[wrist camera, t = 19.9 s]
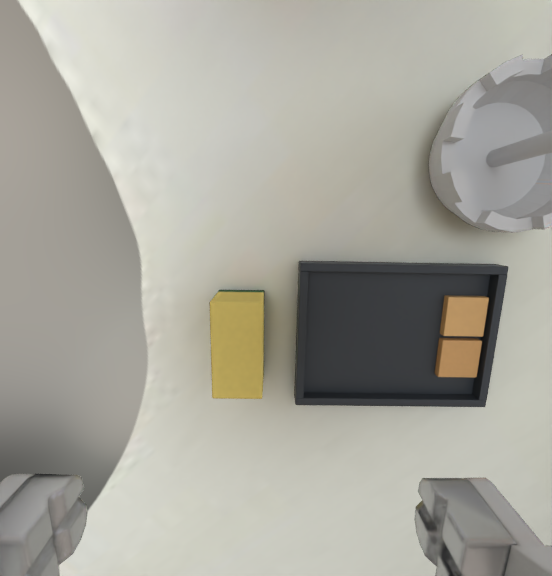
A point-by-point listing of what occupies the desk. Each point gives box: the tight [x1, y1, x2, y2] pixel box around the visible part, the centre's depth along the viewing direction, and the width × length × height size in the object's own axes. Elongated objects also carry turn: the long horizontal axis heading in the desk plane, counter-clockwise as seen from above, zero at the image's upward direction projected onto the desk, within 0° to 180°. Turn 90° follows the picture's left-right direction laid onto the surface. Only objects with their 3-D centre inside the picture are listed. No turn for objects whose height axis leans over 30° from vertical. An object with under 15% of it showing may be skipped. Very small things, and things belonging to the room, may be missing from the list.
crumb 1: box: [440, 295, 489, 337], centre depth 31 cm, size 4×4×1 cm
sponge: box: [210, 290, 264, 399], centre depth 30 cm, size 9×4×5 cm, turn 179°
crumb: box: [435, 338, 482, 377], centre depth 32 cm, size 4×4×1 cm
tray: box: [294, 261, 508, 407], centre depth 32 cm, size 15×20×2 cm
